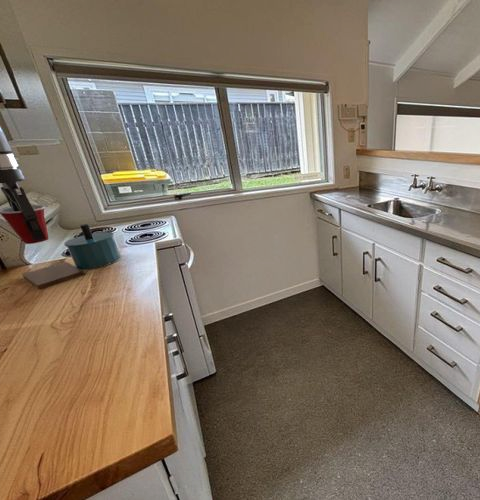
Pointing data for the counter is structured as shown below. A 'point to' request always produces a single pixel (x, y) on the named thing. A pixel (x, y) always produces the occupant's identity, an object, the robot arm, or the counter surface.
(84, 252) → the pot
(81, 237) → the pot lid
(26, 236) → the plastic cup
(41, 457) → the counter surface
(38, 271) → the board
